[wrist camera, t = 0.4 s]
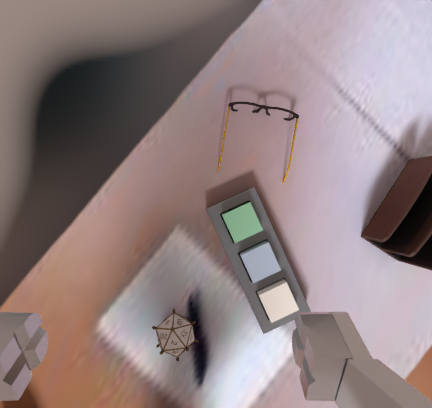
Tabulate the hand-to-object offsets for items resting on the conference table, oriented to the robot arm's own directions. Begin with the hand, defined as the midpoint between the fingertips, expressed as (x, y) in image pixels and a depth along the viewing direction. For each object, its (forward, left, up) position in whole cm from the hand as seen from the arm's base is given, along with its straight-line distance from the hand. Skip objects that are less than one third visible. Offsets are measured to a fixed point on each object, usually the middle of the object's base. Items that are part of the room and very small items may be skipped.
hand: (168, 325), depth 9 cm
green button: (-4, -8, -49) cm, 50 cm away
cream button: (-21, -8, -49) cm, 54 cm away
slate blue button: (-12, -8, -49) cm, 51 cm away
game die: (-18, +13, -51) cm, 56 cm away
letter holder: (-16, -41, -52) cm, 68 cm away
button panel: (-12, -8, -51) cm, 53 cm away
